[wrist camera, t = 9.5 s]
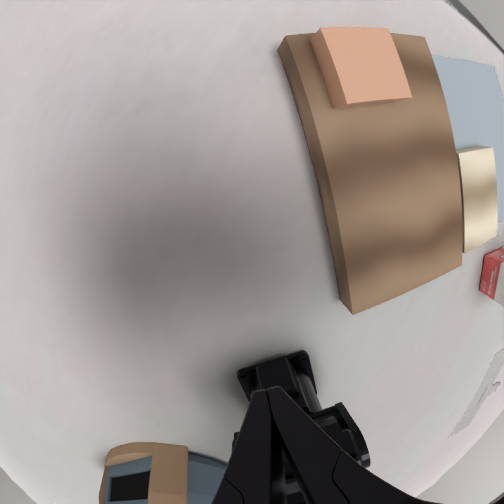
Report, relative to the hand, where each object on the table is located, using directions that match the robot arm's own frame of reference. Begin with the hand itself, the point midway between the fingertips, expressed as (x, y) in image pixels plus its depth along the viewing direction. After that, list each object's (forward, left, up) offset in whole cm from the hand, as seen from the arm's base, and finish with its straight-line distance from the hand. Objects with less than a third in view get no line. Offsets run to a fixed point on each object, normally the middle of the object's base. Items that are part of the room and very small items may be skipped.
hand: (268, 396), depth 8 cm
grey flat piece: (-42, -31, -14) cm, 54 cm away
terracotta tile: (+11, -11, -10) cm, 19 cm away
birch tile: (-1, -22, -13) cm, 26 cm away
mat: (+4, -26, -13) cm, 30 cm away
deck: (+4, -13, -13) cm, 19 cm away
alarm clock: (-29, +19, -13) cm, 37 cm away
